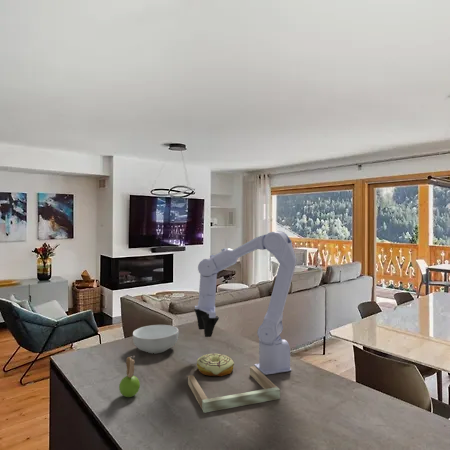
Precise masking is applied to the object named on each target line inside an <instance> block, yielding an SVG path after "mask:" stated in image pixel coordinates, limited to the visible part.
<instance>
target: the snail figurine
mask: <svg viewBox="0 0 450 450" xmlns="http://www.w3.org/2000/svg"><path fill="white" fill-rule="evenodd" d="M135 357H136V355H133V356H128V357H126V359H125V364H126V376H124V377H123V378H122V379H121V380H120V382H119V387H118V389H119V393H120V394H121V395H122V396H123V397H125V398H131V397H132V398H133V397H134V396H136V395H137V394H138V392H139V390H140V388H141V383H140V380H139V378H138V377H137V376H135V375H134V374H135V363H136V362H135Z"/></svg>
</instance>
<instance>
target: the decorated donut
mask: <svg viewBox="0 0 450 450" xmlns="http://www.w3.org/2000/svg"><path fill="white" fill-rule="evenodd" d="M196 359H197V360H196V367H197V368H198V371H199V372H200V373H201V374H202V375H206V376H209V377H223V376H227V375H229V374H232V371H233V370H234V365H235V362H234V360H233V359H232V358H231V357H230V356H227V355H226V354H223V353H207V354H204V355H202V356H200V357H198V358H196Z"/></svg>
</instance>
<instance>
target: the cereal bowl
mask: <svg viewBox="0 0 450 450" xmlns="http://www.w3.org/2000/svg"><path fill="white" fill-rule="evenodd" d="M178 340H179V328H178V327H176V326H174V325H170V324H151V325H145V326H141V327H138V328H137V329H134V330H133V332H132V341H133V344H134V346H135V347H136V348H137V349H138V350H140V351H143V352H146V353H147V352H148V353H147V354H153V353H154V354H160V353H164V352H166V351H167V350H169V349H170V348H173V346H175V344H176V343H177V341H178Z"/></svg>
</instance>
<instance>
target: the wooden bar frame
mask: <svg viewBox="0 0 450 450" xmlns="http://www.w3.org/2000/svg"><path fill="white" fill-rule="evenodd" d="M249 375H250V377H252V379H253V380H254V381H255V382H256V383H257V384H259V386H260V387H262V389H258V390H252V391H247V392H242V393H241V392H240V393H234V394H229V395H224V396H223V395H222V396H216V397H212V398H208V396H207V395H206V393H205V392H204V390H203V388H202V387H201V385H200V384H199V382H198V380H197V379H196V378H195V375H193V374H190V375H188V376H187V384H188V387H189V389H190V390H191V392H192V394H193V396H194V398H195V400H196V401H197V403H198V405H199V406H200V408H201V410H202V412H203V413H209V412H214V411H220V410H226V409H227V410H228V409H232V408H237V407H243V406H247V405H248V406H249V405H253V404H258V403H259V404H260V403H265V402H268V401H269V402H270V401H275V400H281V389H280V388H279V387H278V386H277V385H276V384H275V383H273V382H272V381H271V380H270V378H268V377H267V376H266V375H264V374H263V373H262V372H261V371H260V370H259V369H258V368H257V367H255V366H254V365H253V366H249Z"/></svg>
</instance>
